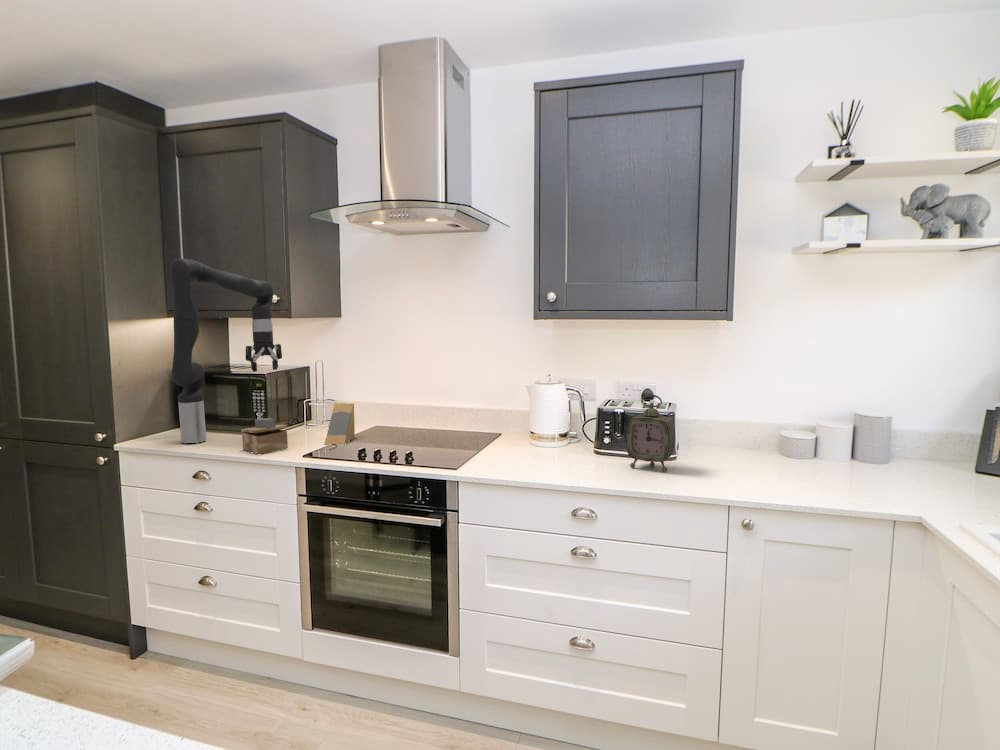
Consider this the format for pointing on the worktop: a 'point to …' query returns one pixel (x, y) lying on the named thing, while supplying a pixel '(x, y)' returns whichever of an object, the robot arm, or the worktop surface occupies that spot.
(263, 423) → the gray rectangular block
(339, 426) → the sandwich container
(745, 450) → the worktop surface
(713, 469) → the worktop surface
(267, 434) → the carton
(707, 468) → the worktop surface
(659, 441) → the tabletop clock
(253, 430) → the lid
